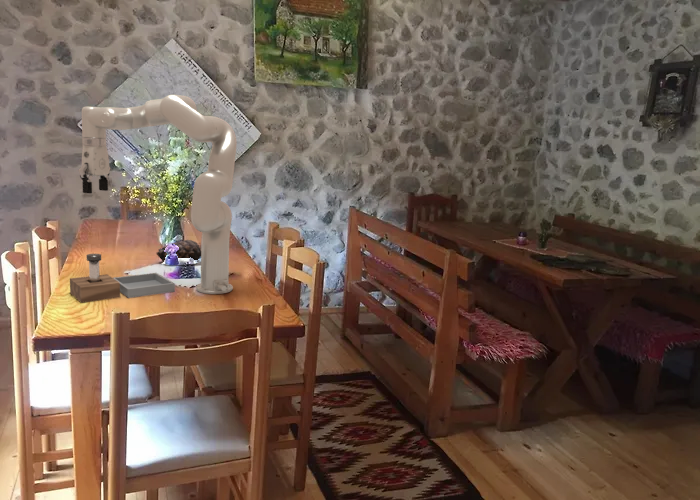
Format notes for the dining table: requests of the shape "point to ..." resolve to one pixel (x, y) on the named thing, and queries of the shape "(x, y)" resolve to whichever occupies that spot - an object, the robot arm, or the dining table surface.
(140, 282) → the grey tray
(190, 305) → the dining table surface
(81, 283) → the walnut block
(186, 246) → the pine cone
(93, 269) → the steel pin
